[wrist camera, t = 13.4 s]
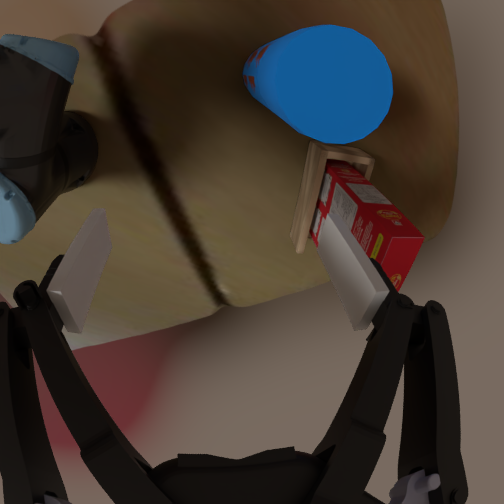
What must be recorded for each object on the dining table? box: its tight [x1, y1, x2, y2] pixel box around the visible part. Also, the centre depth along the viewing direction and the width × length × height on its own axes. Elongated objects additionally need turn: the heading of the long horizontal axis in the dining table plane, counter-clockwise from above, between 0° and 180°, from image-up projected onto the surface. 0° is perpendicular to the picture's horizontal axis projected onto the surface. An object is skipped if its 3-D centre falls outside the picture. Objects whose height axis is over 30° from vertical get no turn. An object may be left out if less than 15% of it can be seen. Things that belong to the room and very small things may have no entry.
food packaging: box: [309, 159, 425, 291], centre depth 42 cm, size 15×5×25 cm, turn 176°
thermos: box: [243, 25, 393, 144], centre depth 28 cm, size 11×11×25 cm
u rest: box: [290, 140, 375, 253], centre depth 50 cm, size 10×20×6 cm, turn 173°
